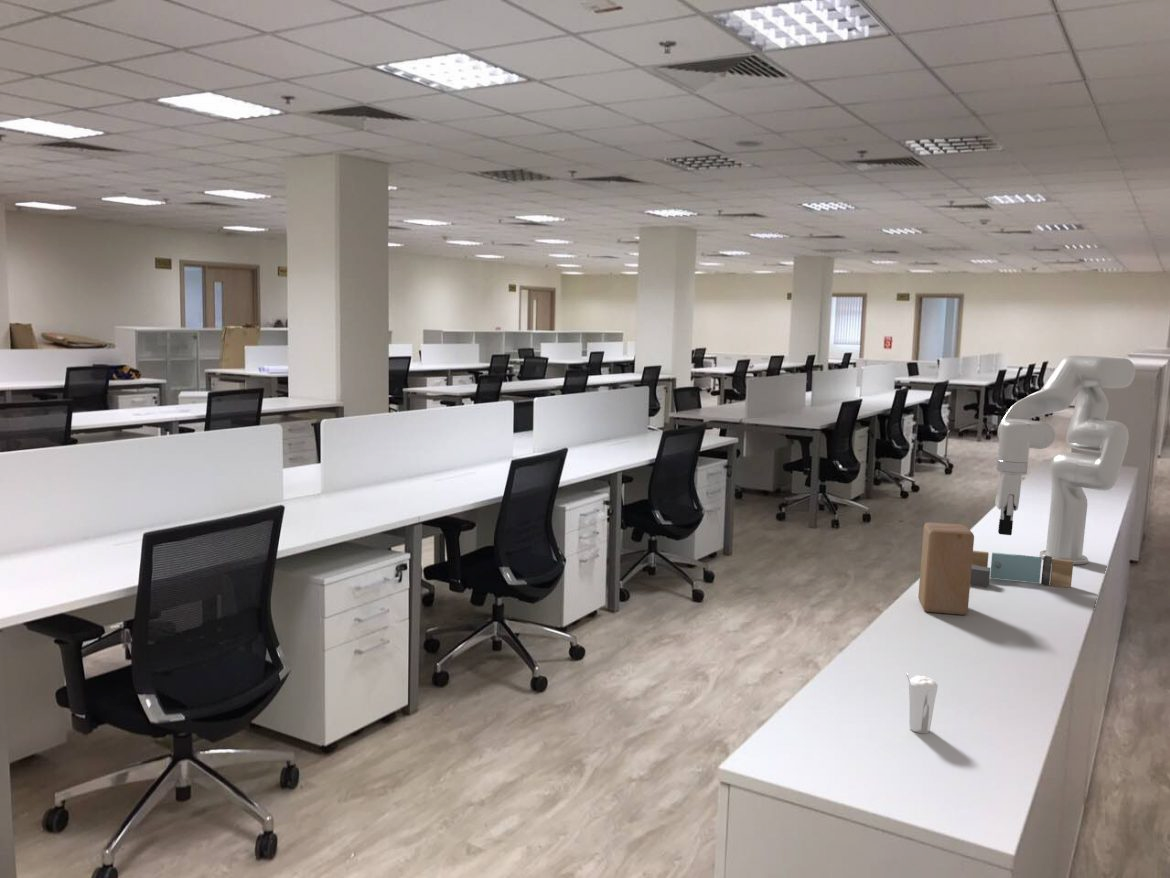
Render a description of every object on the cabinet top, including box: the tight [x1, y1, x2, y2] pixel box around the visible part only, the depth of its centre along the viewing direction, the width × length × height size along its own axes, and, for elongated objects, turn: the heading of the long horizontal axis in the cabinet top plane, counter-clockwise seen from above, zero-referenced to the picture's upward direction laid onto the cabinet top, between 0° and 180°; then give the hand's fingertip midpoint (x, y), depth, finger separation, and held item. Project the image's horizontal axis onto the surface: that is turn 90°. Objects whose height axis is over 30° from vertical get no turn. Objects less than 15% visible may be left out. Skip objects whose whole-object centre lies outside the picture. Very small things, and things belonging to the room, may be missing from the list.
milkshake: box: [905, 672, 939, 734], centre depth 157 cm, size 5×5×10 cm
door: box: [989, 551, 1043, 584], centre depth 248 cm, size 12×3×7 cm, turn 72°
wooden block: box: [918, 521, 975, 616], centre depth 223 cm, size 10×10×20 cm
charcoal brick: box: [970, 565, 991, 589], centre depth 246 cm, size 4×7×4 cm, turn 63°
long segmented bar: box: [972, 550, 1074, 589], centre depth 249 cm, size 2×24×8 cm, turn 72°
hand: (1004, 534), depth 253 cm, fingers closed
